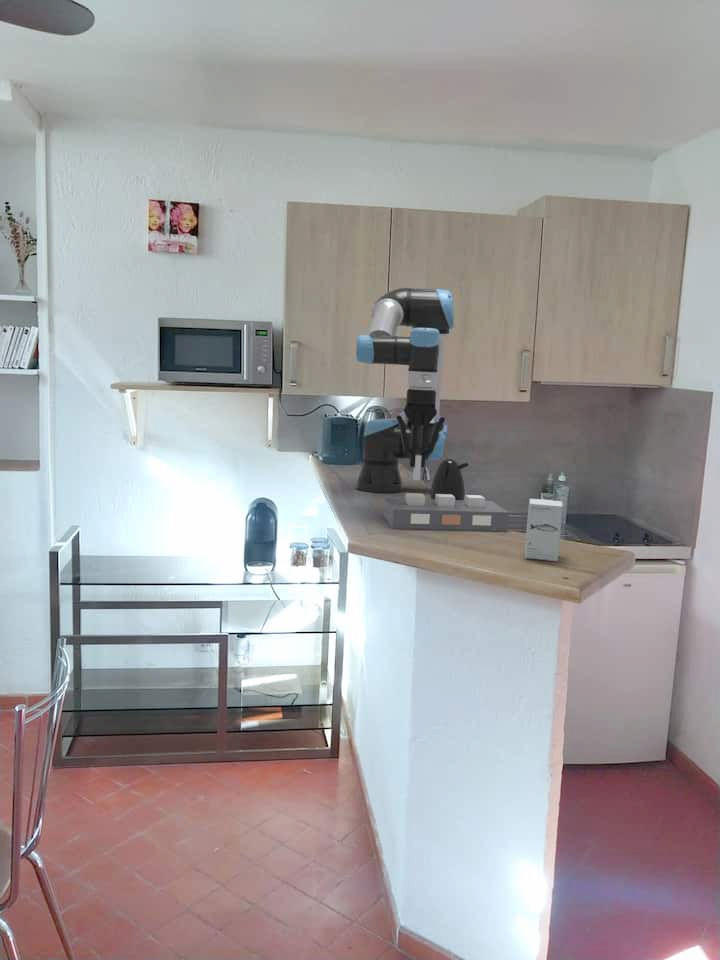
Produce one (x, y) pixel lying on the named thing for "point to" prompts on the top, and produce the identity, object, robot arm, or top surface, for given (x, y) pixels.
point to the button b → (444, 500)
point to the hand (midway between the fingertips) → (416, 479)
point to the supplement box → (543, 529)
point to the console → (444, 516)
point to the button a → (414, 499)
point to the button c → (474, 501)
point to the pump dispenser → (449, 480)
